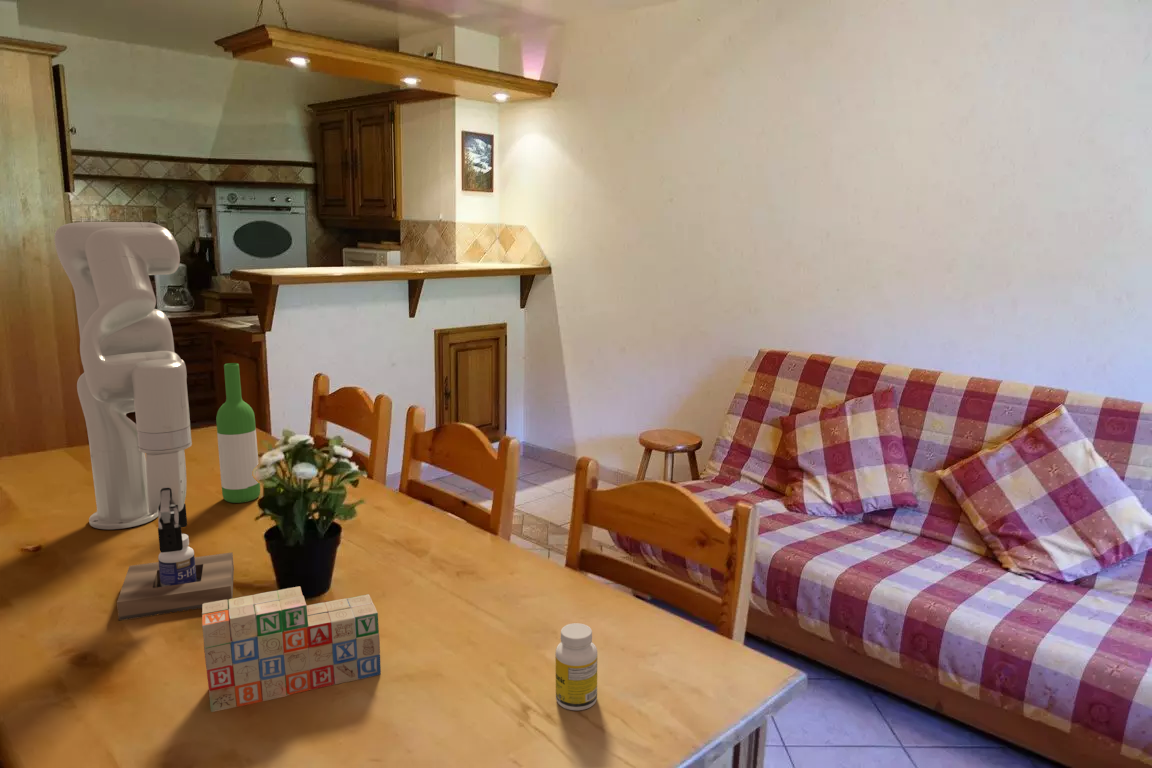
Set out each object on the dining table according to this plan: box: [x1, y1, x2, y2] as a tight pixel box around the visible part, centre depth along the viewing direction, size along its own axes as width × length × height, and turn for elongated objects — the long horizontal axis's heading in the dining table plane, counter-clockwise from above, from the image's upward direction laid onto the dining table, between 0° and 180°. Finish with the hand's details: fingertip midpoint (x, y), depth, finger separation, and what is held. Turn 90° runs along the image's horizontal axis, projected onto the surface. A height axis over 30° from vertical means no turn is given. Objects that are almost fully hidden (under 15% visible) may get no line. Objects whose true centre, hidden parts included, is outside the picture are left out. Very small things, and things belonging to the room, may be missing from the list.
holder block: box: [116, 552, 235, 621], centre depth 132 cm, size 14×16×3 cm
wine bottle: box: [215, 362, 261, 504], centre depth 174 cm, size 8×8×30 cm
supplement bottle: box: [555, 622, 598, 711], centre depth 103 cm, size 5×5×10 cm
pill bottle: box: [158, 533, 197, 587], centre depth 132 cm, size 5×5×9 cm
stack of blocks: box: [201, 586, 382, 713], centre depth 107 cm, size 21×6×12 cm, turn 114°
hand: (174, 538), depth 131 cm, fingers open, 9 cm apart
